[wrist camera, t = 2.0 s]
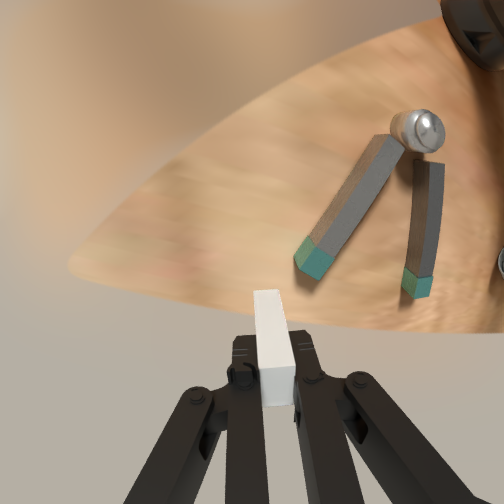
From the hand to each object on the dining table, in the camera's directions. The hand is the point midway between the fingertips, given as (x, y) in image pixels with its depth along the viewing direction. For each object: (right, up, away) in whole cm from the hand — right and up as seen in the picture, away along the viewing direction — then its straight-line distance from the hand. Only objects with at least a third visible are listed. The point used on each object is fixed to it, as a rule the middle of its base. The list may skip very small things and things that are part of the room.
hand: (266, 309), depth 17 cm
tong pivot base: (+19, +10, +14) cm, 25 cm away
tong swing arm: (+12, +11, +13) cm, 21 cm away
